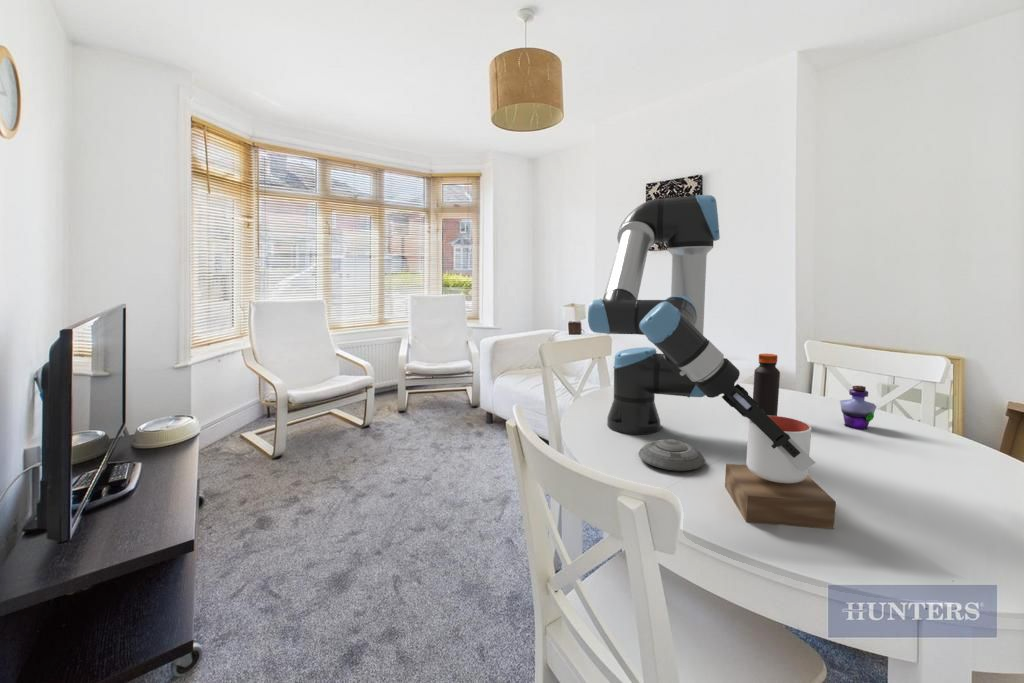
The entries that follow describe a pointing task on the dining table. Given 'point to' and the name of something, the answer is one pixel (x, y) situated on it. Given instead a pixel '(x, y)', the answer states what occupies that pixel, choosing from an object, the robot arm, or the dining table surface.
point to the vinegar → (767, 384)
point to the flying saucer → (671, 455)
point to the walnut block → (779, 500)
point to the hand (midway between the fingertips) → (795, 454)
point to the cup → (777, 451)
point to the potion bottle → (857, 409)
